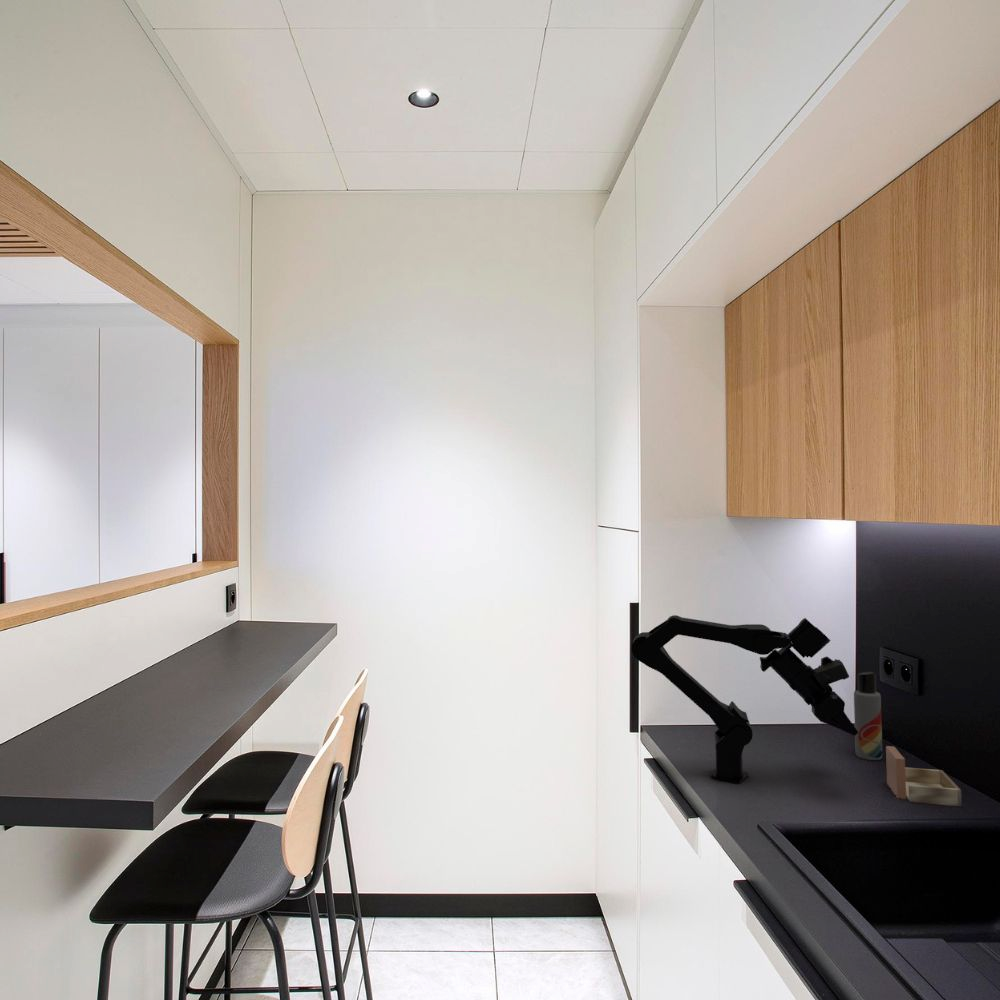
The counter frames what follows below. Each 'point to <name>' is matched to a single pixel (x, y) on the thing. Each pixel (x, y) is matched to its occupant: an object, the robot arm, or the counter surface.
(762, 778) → the counter surface
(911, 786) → the tray
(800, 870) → the counter surface
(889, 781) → the drawer panel
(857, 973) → the counter surface
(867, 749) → the lotion bottle
